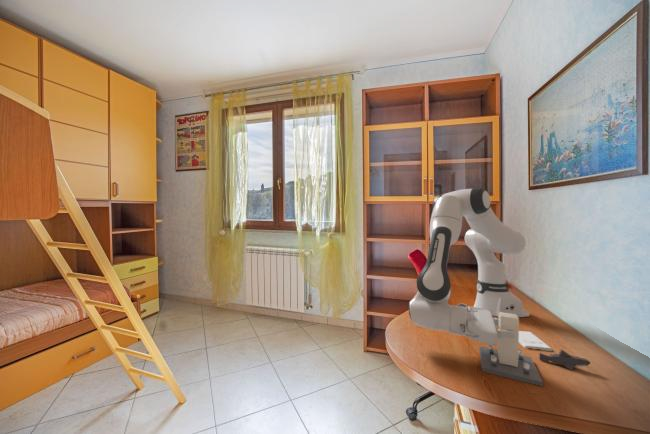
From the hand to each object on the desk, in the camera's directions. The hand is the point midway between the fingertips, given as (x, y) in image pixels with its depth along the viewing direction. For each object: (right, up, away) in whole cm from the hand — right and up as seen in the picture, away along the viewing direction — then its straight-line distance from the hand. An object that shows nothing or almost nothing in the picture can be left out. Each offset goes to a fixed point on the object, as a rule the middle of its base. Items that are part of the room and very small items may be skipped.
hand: (512, 330), depth 80 cm
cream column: (-1, -10, +1) cm, 10 cm away
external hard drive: (+18, -12, +17) cm, 27 cm away
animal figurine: (+17, -12, +2) cm, 21 cm away
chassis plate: (-1, -11, +1) cm, 11 cm away
